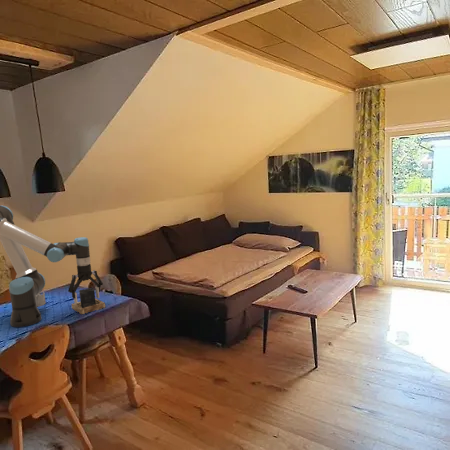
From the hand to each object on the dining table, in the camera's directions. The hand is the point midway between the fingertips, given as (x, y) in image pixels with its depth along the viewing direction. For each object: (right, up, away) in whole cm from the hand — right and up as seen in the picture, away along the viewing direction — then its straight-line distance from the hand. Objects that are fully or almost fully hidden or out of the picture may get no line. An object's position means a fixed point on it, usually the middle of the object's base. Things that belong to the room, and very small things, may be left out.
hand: (87, 300), depth 233 cm
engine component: (-35, -5, +13) cm, 38 cm away
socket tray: (+1, -5, +1) cm, 5 cm away
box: (+1, -4, +1) cm, 5 cm away
